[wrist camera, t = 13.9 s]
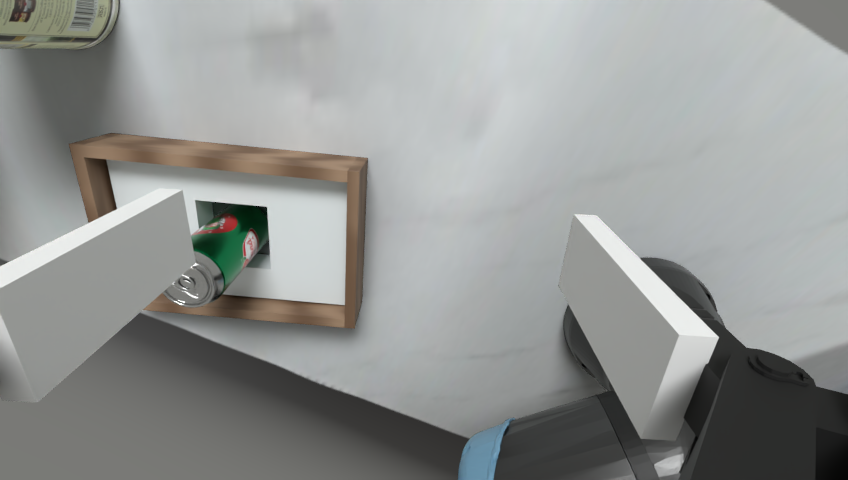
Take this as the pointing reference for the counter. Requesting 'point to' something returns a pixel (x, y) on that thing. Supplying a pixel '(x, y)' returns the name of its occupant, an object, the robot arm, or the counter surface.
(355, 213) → the open box
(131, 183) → the socket plate
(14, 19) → the coffee can
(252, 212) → the soda can
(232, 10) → the counter surface
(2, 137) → the counter surface
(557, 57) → the counter surface
